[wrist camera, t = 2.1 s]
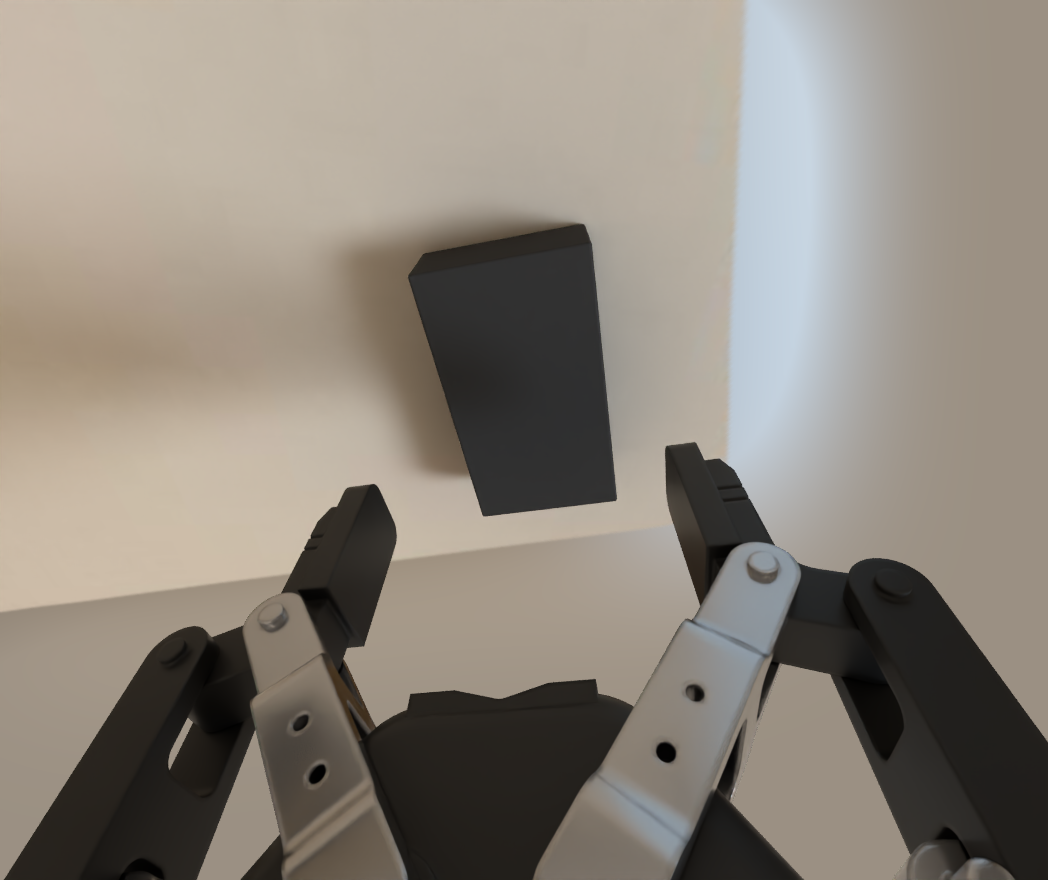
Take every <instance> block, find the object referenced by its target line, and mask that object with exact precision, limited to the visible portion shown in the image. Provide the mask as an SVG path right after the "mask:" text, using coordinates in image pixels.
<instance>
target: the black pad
mask: <svg viewBox="0 0 1048 880" xmlns="http://www.w3.org/2000/svg"><path fill="white" fill-rule="evenodd" d="M408 279H409V282H410V285H411V289H412V292H413V295H414V298H415V301H416V304H417V308H418V311H419V314H420V317H421V320H422V324H423V327H424V330H425V333H426V336H427V339H428V343H429V346H430V349H431V352H432V355H433V359H434V362H435V365H436V368H437V371H438V375H439V378H440V381H441V384H442V387H443V390H444V394H445V397H446V400H447V403H448V406H449V410H450V413H451V416H452V419H453V422H454V425H455V429H456V432H457V435H458V438H459V441H460V445H461V448H462V451H463V454H464V457H465V461H466V464H467V467H468V470H469V473H470V476H471V480H472V483H473V486H474V489H475V492H476V496H477V499H478V502H479V505H480V508H481V512H482V515H483V516H493V515H501V514H510V513H518V512H526V511H535V510H543V509H552V508H560V507H568V506H577V505H585V504H594V503H602V502H610V501H616V499H617V495H616V485H615V474H614V464H613V454H612V444H611V434H610V424H609V414H608V404H607V394H606V383H605V373H604V363H603V353H602V343H601V333H600V323H599V313H598V302H597V292H596V282H595V272H594V262H593V252H592V244H591V241H590V238H589V235H588V233H587V230H586V227H585V225H584V224H580V225H575V226H569V227H564V228H559V229H553V230H548V231H543V232H537V233H532V234H527V235H521V236H516V237H511V238H505V239H500V240H495V241H489V242H484V243H479V244H473V245H468V246H463V247H457V248H452V249H447V250H441V251H436V252H431V253H425V254H423V256H422V257H421V258H420V260H419V261H418V263H417V264H416V265H415V267H414V268H413V270H412V271H411V273H410V274H409V275H408Z"/></svg>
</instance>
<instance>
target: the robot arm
mask: <svg viewBox="0 0 1048 880" xmlns="http://www.w3.org/2000/svg"><path fill="white" fill-rule="evenodd" d="M665 461H666V494H667V502H668V507H669V511H670V514H671V518H672V521H673V524H674V526H675V530H676V533H677V536H678V539H679V542H680V545H681V548H682V551H683V554H684V557H685V560H686V563H687V566H688V570H689V573H690V576H691V579H692V582H693V585H694V588H695V591H696V594H697V597H698V600H699V603H700V608H699V610H698V612H697V614H696V615H695V617H694V618H693V619H692V620H690V619H685V620H684V621H683V622H682V623H681V625H680V626H679V628H678V629H677V631H676V633H675V635H674V636H673V638H672V640H671V642H670V644H669V645H668V647H667V649H666V651H665V653H664V654H663V656H662V658H661V660H660V661H659V664H658V665H657V667H656V669H655V670H654V672H653V674H652V676H651V678H650V679H649V681H648V683H647V685H646V686H645V688H644V690H643V692H642V693H641V695H640V697H639V699H638V700H637V702H636V704H635V706H634V707H633V706H632V705H630V704H628V703H626V702H624V701H621V700H619V699H616V698H613V697H610V696H607V695H602V694H598V690H597V684H596V679H592V680H578V681H566V682H553V683H547V684H544V685H541V686H538V687H535V688H532V689H529V690H527V691H524V692H521V693H518V694H515V695H512V696H509V697H506V698H503V699H494V698H490V697H485V696H480V695H475V694H470V693H464V692H460V691H455V690H454V691H442V692H429V693H417V694H410V699H409V704H408V708H407V710H406V711H403V712H401V713H399V714H397V715H395V716H393V717H391V718H389V719H388V720H386V721H385V722H383V723H382V724H380V725H379V726H378V727H376V726H375V724H374V722H373V720H372V719H371V717H370V714H369V712H368V710H367V708H366V706H365V703H364V701H363V699H362V697H361V695H360V693H359V690H358V688H357V686H356V684H355V682H354V679H353V677H352V675H351V673H350V671H349V669H348V666H347V664H346V663H345V661H344V660H343V657H344V655H345V652H346V649H347V648H351V647H361V646H364V645H365V641H366V638H367V635H368V632H369V629H370V625H371V622H372V618H373V616H374V612H375V609H376V606H377V602H378V600H379V596H380V593H381V590H382V587H383V584H384V580H385V577H386V574H387V570H388V568H389V564H390V561H391V558H392V555H393V552H394V548H395V545H396V538H397V534H396V527H395V523H394V521H393V518H392V516H391V514H390V512H389V510H388V507H387V505H386V503H385V501H384V499H383V496H382V494H381V492H380V490H379V488H378V487H377V486H376V485H375V484H370V485H363V486H355V487H349V488H347V489H346V490H345V492H344V494H343V496H342V498H341V500H340V502H339V504H338V506H337V507H332V508H331V509H330V510H329V511H328V512H327V513H326V514H325V515H324V516H323V517H322V518H321V519H320V520H319V521H318V522H317V524H316V526H315V528H314V530H313V532H312V534H311V539H309V540H308V542H307V544H306V546H305V548H304V549H305V551H303V552H302V554H301V555H300V557H299V559H298V561H297V563H296V565H295V567H294V569H293V571H292V573H291V575H290V577H289V579H288V581H287V583H286V585H285V587H284V589H283V591H282V593H281V594H278V595H276V596H273V597H271V598H269V599H267V600H266V601H264V602H263V603H261V604H260V605H259V606H258V607H256V609H254V610H253V611H252V613H251V614H250V615H249V616H248V618H247V619H246V621H245V623H244V625H243V626H241V627H238V628H236V629H233V630H231V631H228V632H225V633H222V634H220V635H217V636H214V637H211V636H210V635H209V634H208V633H207V632H206V631H205V630H204V629H203V628H201V627H196V626H192V627H187V628H184V629H181V630H178V631H176V632H174V633H173V634H171V635H169V636H168V637H166V638H165V639H163V640H162V641H161V642H160V643H159V644H158V645H156V646H155V647H154V648H153V650H152V651H151V652H150V653H149V654H148V656H147V657H146V659H145V660H144V662H143V663H142V665H141V666H140V668H139V670H138V671H137V673H136V674H135V676H134V677H133V679H132V680H131V682H130V684H129V685H128V687H127V689H126V690H125V692H124V693H123V695H122V696H121V698H120V699H119V701H118V702H117V704H116V705H115V707H114V709H113V711H112V712H111V713H110V715H109V716H108V718H107V720H106V721H105V723H104V724H103V726H102V727H101V729H100V731H99V732H98V734H97V735H96V737H95V738H94V740H93V741H92V743H91V745H90V746H89V748H88V749H87V751H86V753H85V754H84V755H83V757H82V759H81V760H80V762H79V763H78V765H77V766H76V768H75V770H74V771H73V773H72V774H71V776H70V777H69V779H68V781H67V782H66V784H65V785H64V787H63V788H62V790H61V791H60V793H59V795H58V796H57V798H56V799H55V801H54V802H53V804H52V806H51V807H50V809H49V810H48V812H47V813H46V815H45V816H44V818H43V820H42V821H41V823H40V824H39V826H38V827H37V829H36V831H35V832H34V834H33V835H32V837H31V838H30V840H29V842H28V843H27V845H26V846H25V848H24V849H23V851H22V852H21V854H20V856H19V857H18V859H17V860H16V862H15V864H14V865H13V866H12V868H11V870H10V871H9V873H8V875H7V876H6V878H5V879H4V880H196V879H197V877H198V874H199V872H200V869H201V867H202V864H203V862H204V859H205V856H206V854H207V851H208V849H209V846H210V844H211V841H212V839H213V836H214V833H215V831H216V828H217V826H218V823H219V821H220V818H221V815H222V813H223V810H224V808H225V805H226V803H227V800H228V798H229V795H230V793H231V790H232V787H233V785H234V782H235V780H236V777H237V775H238V772H239V769H240V767H241V764H242V762H243V759H244V757H245V754H246V752H247V749H248V747H249V744H250V741H251V739H252V736H253V734H254V731H255V730H256V734H257V738H258V742H259V746H260V751H261V755H262V759H263V764H264V768H265V772H266V777H267V780H268V785H269V789H270V794H271V798H272V802H273V806H274V811H275V815H276V819H277V823H278V828H279V832H280V835H279V836H278V837H277V838H276V840H275V841H274V842H273V843H272V844H271V845H270V846H269V847H268V849H267V850H266V851H265V852H264V853H263V854H262V856H261V857H260V858H259V859H258V860H257V861H256V863H255V864H254V865H253V866H252V867H251V868H250V869H249V871H248V872H247V873H246V874H245V875H244V876H243V877H242V879H241V880H804V879H802V877H801V876H800V875H799V874H798V873H797V872H796V871H795V870H794V869H793V868H792V867H791V866H790V865H789V864H788V863H787V861H786V860H785V859H784V858H783V857H782V856H781V855H780V854H779V853H778V852H777V851H776V850H775V849H774V848H773V847H772V846H771V845H770V844H769V842H768V841H767V840H766V839H765V838H764V837H763V836H762V835H761V834H760V833H759V832H758V831H757V830H756V829H755V828H754V827H753V826H752V825H751V824H750V822H749V821H748V820H747V819H746V818H745V817H744V816H743V815H742V814H741V813H740V812H739V811H738V810H737V809H736V808H735V807H734V805H733V804H732V801H733V799H734V796H735V794H736V791H737V788H738V785H739V783H740V780H741V777H742V774H743V772H744V769H745V766H746V763H747V761H748V758H749V754H750V751H751V748H752V744H753V740H754V737H755V734H756V731H757V728H758V725H759V723H760V720H761V717H762V715H763V712H764V709H765V707H766V704H767V702H768V699H769V696H770V694H771V691H772V688H773V686H774V683H775V680H776V678H777V675H778V673H779V670H780V667H781V664H786V665H791V666H796V667H800V668H804V669H809V670H814V671H818V672H823V673H828V674H830V675H831V677H832V679H833V682H834V684H835V686H836V688H837V691H838V693H839V695H840V697H841V700H842V702H843V704H844V706H845V709H846V711H847V713H848V715H849V718H850V720H851V722H852V724H853V727H854V729H855V731H856V733H857V735H858V738H859V740H860V742H861V745H862V747H863V749H864V751H865V754H866V756H867V758H868V760H869V763H870V765H871V767H872V769H873V772H874V774H875V776H876V778H877V781H878V783H879V785H880V787H881V790H882V792H883V794H884V796H885V799H886V801H887V803H888V805H889V808H890V810H891V812H892V815H893V817H894V819H895V821H896V824H897V826H898V828H899V830H900V833H901V835H902V837H903V839H904V841H905V844H906V846H907V848H908V851H909V853H910V856H909V858H908V859H907V860H906V862H905V863H904V864H903V866H902V867H901V868H900V870H899V871H898V872H897V873H896V875H895V876H894V878H893V880H1048V742H1047V741H1046V739H1045V738H1044V736H1043V735H1042V734H1041V732H1040V731H1039V729H1038V728H1037V727H1036V725H1035V724H1034V723H1033V721H1032V720H1031V719H1030V717H1029V716H1028V715H1027V713H1026V712H1025V711H1024V709H1023V708H1022V706H1021V705H1020V703H1019V702H1018V701H1017V699H1016V698H1015V697H1014V695H1013V694H1012V693H1011V691H1010V690H1009V688H1008V687H1007V686H1006V684H1005V683H1004V682H1003V680H1002V679H1001V677H1000V676H999V675H998V674H997V672H996V671H995V669H994V668H993V667H992V665H991V664H990V662H989V661H988V660H987V658H986V657H985V656H984V654H983V653H982V652H981V650H980V649H979V647H978V646H977V645H976V643H975V642H974V641H973V639H972V638H971V636H970V635H969V634H968V633H967V631H966V630H965V628H964V627H963V626H962V624H961V623H960V622H959V620H958V619H957V617H956V616H955V615H954V613H953V612H952V611H951V609H950V608H949V606H948V605H947V604H946V602H945V601H944V600H943V598H942V597H941V595H940V594H939V593H938V591H937V590H936V589H935V587H934V586H933V585H932V583H931V582H930V581H929V580H928V579H927V578H926V577H925V576H923V575H922V574H921V573H920V572H918V571H916V570H915V569H913V568H911V567H910V566H907V565H905V564H903V563H900V562H897V561H893V560H889V559H881V558H872V559H866V560H862V561H860V562H858V563H856V564H855V565H854V566H852V568H851V569H850V571H849V573H843V572H835V571H829V570H822V569H816V568H811V567H808V566H804V565H802V564H799V563H797V561H796V560H795V559H794V558H793V557H792V556H791V555H790V554H789V553H788V552H786V551H785V550H783V549H781V548H779V547H777V546H775V544H774V543H773V541H772V539H771V538H770V536H769V534H768V532H767V530H766V528H765V526H764V525H763V523H762V521H761V519H760V517H759V515H758V513H757V512H756V510H755V508H754V506H753V504H752V502H751V501H750V499H749V498H748V495H747V493H746V491H745V490H744V488H743V487H742V484H741V482H740V480H739V478H738V476H737V474H736V473H735V471H734V470H733V469H732V468H731V467H729V466H728V465H727V464H726V463H724V462H723V461H722V460H720V459H712V460H704V459H703V456H702V454H701V452H700V450H699V448H698V446H697V444H696V443H695V442H693V443H685V444H678V445H670V446H666V449H665ZM187 718H189V719H190V720H191V721H192V722H193V724H192V726H191V728H190V730H189V732H188V734H187V736H186V738H185V740H184V742H183V744H182V746H181V748H180V750H179V752H178V754H177V757H176V758H175V760H174V762H173V764H172V766H171V769H170V770H169V768H168V759H169V754H170V751H171V749H172V747H173V745H174V743H175V741H176V739H177V737H178V735H179V733H180V731H181V729H182V727H183V725H184V724H185V722H186V720H187Z"/></svg>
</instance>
